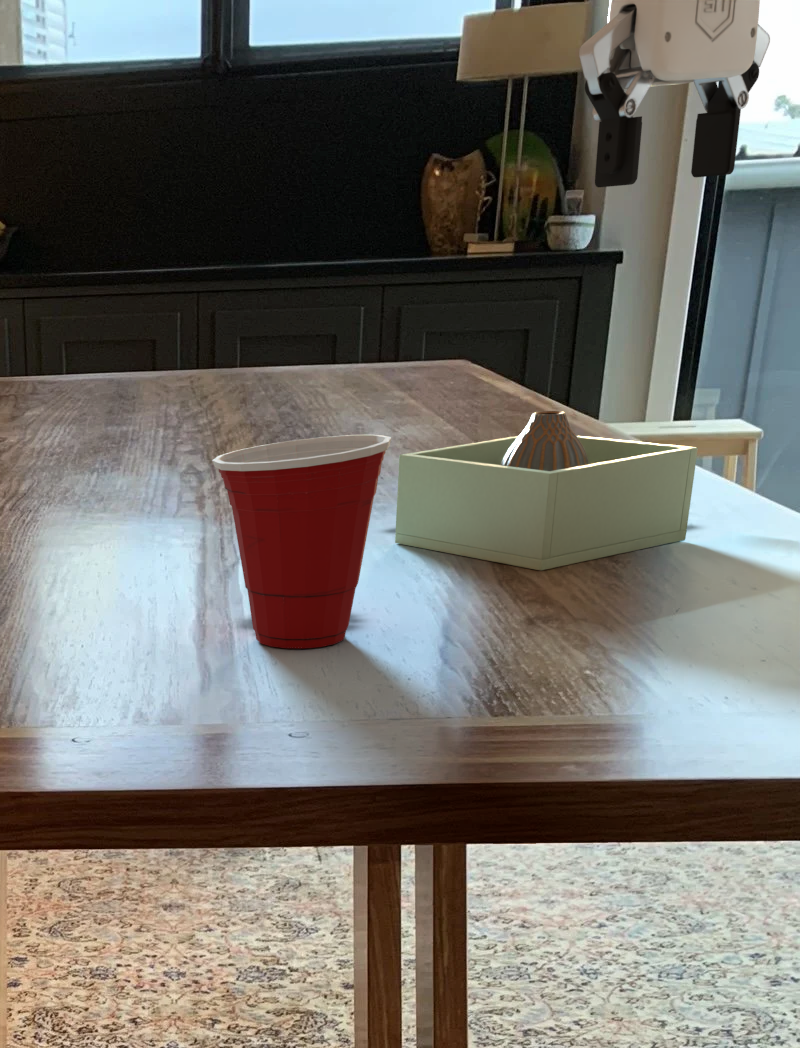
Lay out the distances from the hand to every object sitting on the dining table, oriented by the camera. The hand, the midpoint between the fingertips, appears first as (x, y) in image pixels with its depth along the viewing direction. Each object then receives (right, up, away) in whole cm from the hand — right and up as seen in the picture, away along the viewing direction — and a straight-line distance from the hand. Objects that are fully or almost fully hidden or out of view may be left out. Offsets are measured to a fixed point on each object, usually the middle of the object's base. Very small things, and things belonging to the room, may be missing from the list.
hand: (664, 180), depth 107 cm
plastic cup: (-27, -35, -9) cm, 45 cm away
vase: (-4, -21, +14) cm, 25 cm away
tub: (-4, -21, +14) cm, 26 cm away
